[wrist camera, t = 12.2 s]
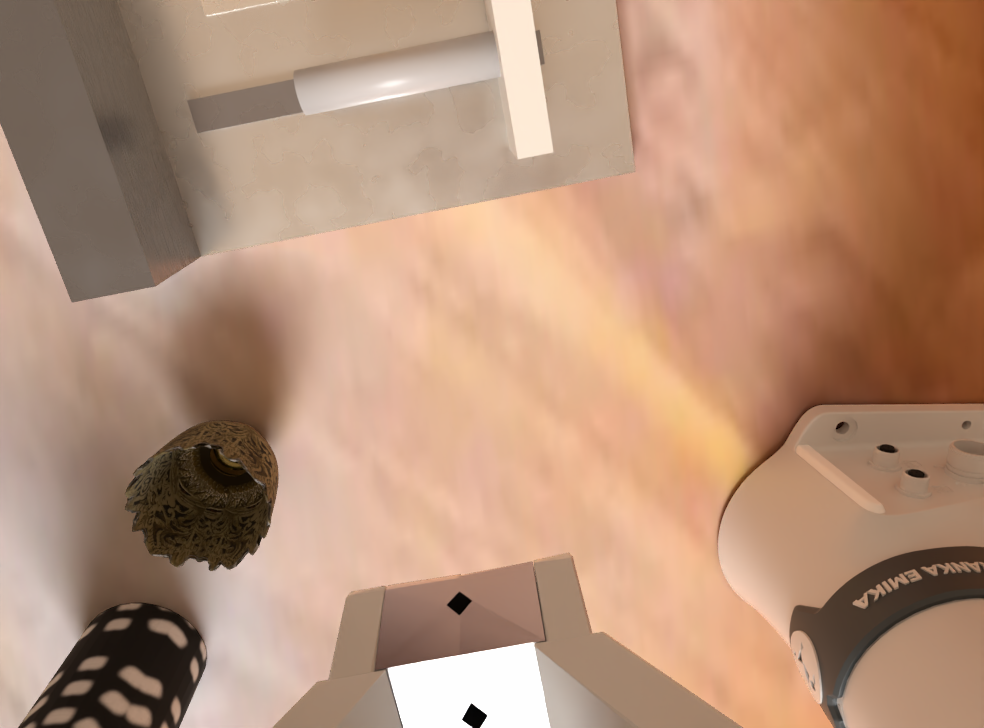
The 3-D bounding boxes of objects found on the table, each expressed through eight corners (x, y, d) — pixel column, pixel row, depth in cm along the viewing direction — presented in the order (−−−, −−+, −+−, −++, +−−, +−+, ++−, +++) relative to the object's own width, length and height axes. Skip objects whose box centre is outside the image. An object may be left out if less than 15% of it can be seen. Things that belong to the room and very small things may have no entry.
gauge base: (595, -120, 37) (630, -174, 29) (629, 169, 41) (666, 187, 34) (44, -6, 37) (-61, -30, 30) (141, 264, 42) (71, 302, 35)
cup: (170, 482, 47) (115, 557, 40) (186, 377, 45) (130, 435, 37) (288, 507, 48) (256, 585, 40) (310, 405, 46) (280, 468, 38)
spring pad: (500, -111, 35) (507, -150, 29) (539, 143, 39) (553, 152, 33) (272, -65, 35) (236, -94, 29) (335, 182, 39) (314, 199, 33)
